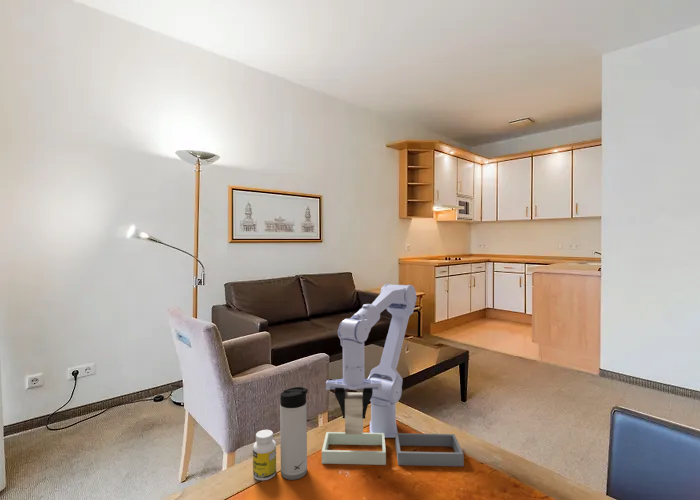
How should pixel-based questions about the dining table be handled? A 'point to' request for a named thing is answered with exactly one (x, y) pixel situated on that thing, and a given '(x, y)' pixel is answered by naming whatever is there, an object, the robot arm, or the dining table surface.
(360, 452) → the bin
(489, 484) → the dining table surface
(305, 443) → the travel mug
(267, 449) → the supplement bottle
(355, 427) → the ash block
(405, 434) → the bin
